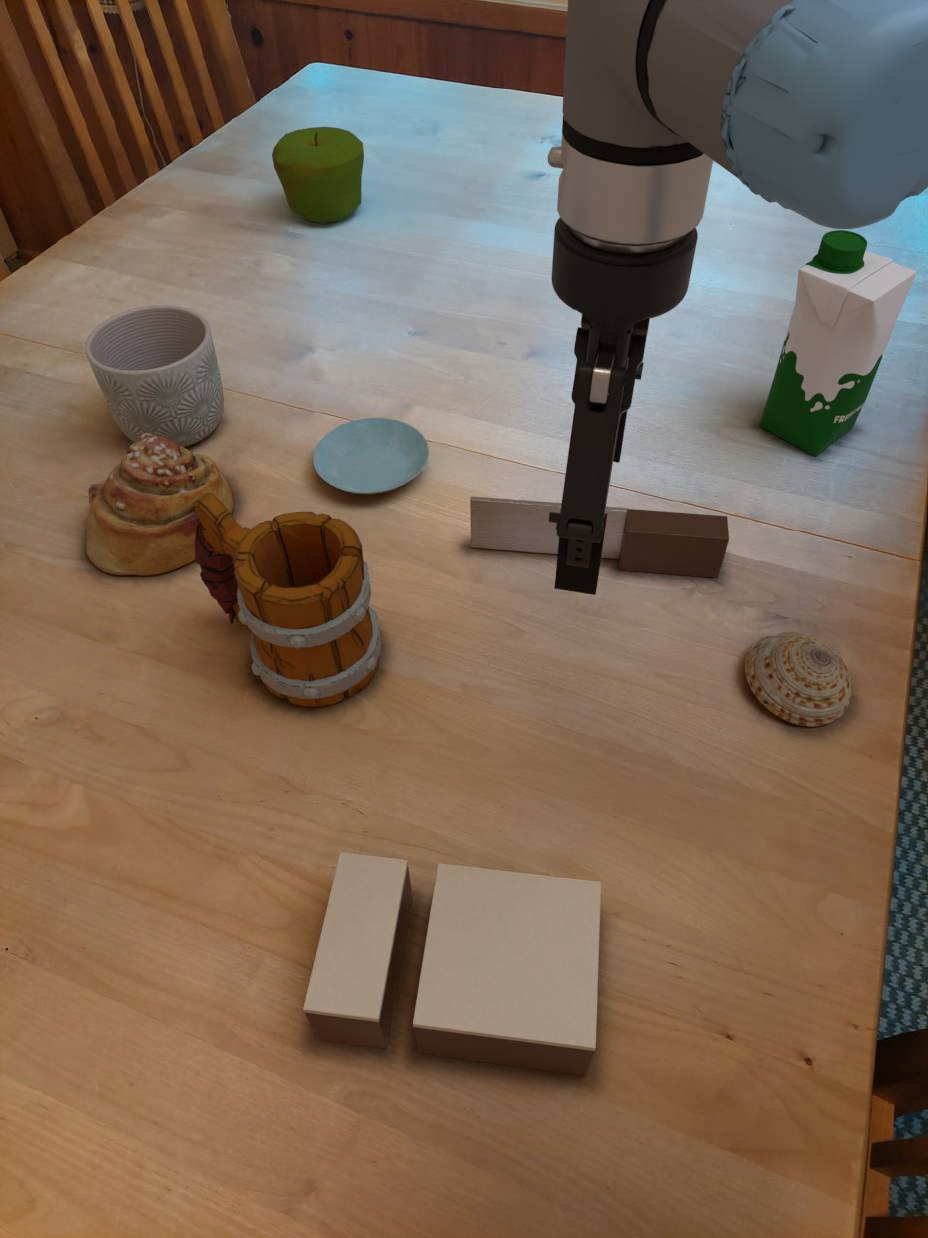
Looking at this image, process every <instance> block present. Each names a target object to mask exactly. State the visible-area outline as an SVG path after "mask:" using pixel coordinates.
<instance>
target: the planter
mask: <svg viewBox="0 0 928 1238" xmlns="http://www.w3.org/2000/svg"><path fill="white" fill-rule="evenodd" d="M84 352H85V353H84V354H85V356H86V358H87V361H88V363H89V366H90V368H91V370H92V373H93V375H94V377H95V380H96V382H97V385H98V386H99V389H100V391H101V393H102V396H103V398H104V401H105V402H106V405H107V407H108V410H109V411H110V412H111V413H110V414H111V415H112V417H113V419H114V421H115V423H116V424H117V426H118V427H119V430H121V432H122V433H123V434H124V435H125V436H126V438H129V440H130V441H132V442H133V443H135V442H137V441H139V439H140V437H141V436H142V435H143V434H144V433H148V434H152V435H154V436H164V437H166V438H167V439H169V440H170V441H173V442H175V443H176V444H177V445H179V446H182V447H184V448H186V447H189V446H192V445H195V444H196V443H199V442H200V441H202V440H204V439H205V438H207V437H208V436H209V435H211V434H212V433H213V432H214V431H215V429H216V428H217V427H218V426H219V424H220V423H221V421H222V418H223V415H224V409H225V397H224V389H223V382H222V376H221V371H220V367H219V366H220V365H219V361H218V357H217V352H216V348H215V344H214V338H213V335H212V330H211V326H210V323H209V321H208V320H207V319H206V318H205V317H204V316H203V315H201V314H200V313H199V312H197V311H195V310H192V309H190V308H186V307H182V306H178V305H170V304H169V305H168V304H167V305H166V304H161V305H160V304H159V305H158V304H157V305H155V304H154V305H147V306H141V307H135V308H132V309H129V310H125V311H122V312H120V313H118V314H117V313H116V314H115V315H113V316H111V317H109V318H107V319H105V320H104V321H102V322H101V323H100V324H98V325H97V326H96V327H95V328H94V329H93V330H92V331H91V332H90V334H89V335H88V336H87V338H86V341H85V343H84Z"/></svg>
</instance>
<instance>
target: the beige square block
mask: <svg viewBox="0 0 928 1238" xmlns="http://www.w3.org/2000/svg"><path fill="white" fill-rule="evenodd" d="M601 896H602V882H601V881H597V880H589V879H588V880H587V879H579V878H578V879H577V878H570V877H563V876H552V875H544V874H537V873H536V874H535V873H526V872H519V871H509V870H501V869H492V868H485V867H484V868H483V867H474V866H467V865H466V866H465V865H459V864H449V863H441V862H438V863H437V868H436V875H435V880H434V887H433V894H432V900H431V906H430V912H429V919H428V925H427V931H426V937H425V943H424V948H423V949H424V951H423V956H422V962H421V969H420V973H419V982H418V988H417V994H416V999H415V1006H414V1012H413V1019H412V1027H413V1031H414V1037H415V1041H416V1046H417V1052H418V1054H421V1055H429V1056H435V1057H443V1058H451V1059H455V1060H456V1059H457V1060H464V1061H472V1062H480V1063H486V1064H494V1065H501V1066H509V1067H515V1068H516V1067H517V1068H523V1069H531V1070H539V1071H546V1072H553V1073H561V1074H566V1075H567V1074H568V1075H576V1076H582V1077H587V1075H588V1072H589V1069H590V1066H591V1063H592V1060H593V1057H594V1054H595V1052H596V1049H597V1021H598V990H599V961H600V960H599V958H600V931H601V929H600V928H601V898H602V897H601Z"/></svg>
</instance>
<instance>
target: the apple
mask: <svg viewBox="0 0 928 1238" xmlns="http://www.w3.org/2000/svg"><path fill="white" fill-rule="evenodd" d="M271 157H272V158H271V159H272V163H273V169H274V171H275V174H276V176H277V177H278V178H277V179H278V180H279V182H280V184H281V187H282V190H283V192H284V196H285V199H286V201H287V204H288V207H289V209H290V210H291V211H292V213H293V214H295V215H297V216H299V217H300V218H302V219H304V220H306V221H307V222H310V223H315V224H333V223H338V222H341V221H343V220H345V219H346V218H348V217H349V216H350V215H351V214H353V212H355V211H356V210H357V208H359V207H360V205H361V204H362V182H363V181H362V178H363V177H362V176H363V171H364V170H363V169H364V162H365V152H364V143H363V141H362V140H361V139H360V138H359V137H358V136H357V135H356V134H354V133H352V132H351V131H350V130H347V129H343V128H340V127H334V126H333V127H332V126H316V127H307V128H302V129H296V130H293V131H289V132H288V133H285V134H284V135H283V136H282V137H281V138H279V139H278V141H277V143H276V144H275V146H273V149H272V153H271Z"/></svg>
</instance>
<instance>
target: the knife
mask: <svg viewBox="0 0 928 1238" xmlns="http://www.w3.org/2000/svg"><path fill="white" fill-rule="evenodd" d="M561 504H562V502H552V501H538V500H525V499H513V498H512V499H510V498H499V497H497V498H496V497H484V496H470V499H469V507H470V508H469V509H470V511H469V512H470V515H469V516H470V547H471V548H477V549H489V550H502V551H512V552H513V551H515V552H524V553H525V552H527V553H538V554H549V555H550V554H551V555H558V544H559V537H558V536H557V530H556V525H557V523H552V522H549V513H550V512H557V513H560V511H561ZM605 513H607V521H606V528H605V535H604V542H603V549H602V556H601V559H614V560H616V559H617V560H619V562H618V563H619V565H618V566H619V571H626V572H627V571H628V572H640V573H654V574H663V575H664V574H665V575H678V576H689V577H702V578H712V579H713V578H714V579H718V578H719V576H720V573H721V569H722V566H723V563H724V559H725V555H726V552H727V548H728V545H729V542H730V535H729V534H730V533H729V532H730V531H729V519H728V516H727V515H718V514H717V515H715V514H704V513H703V514H702V513H688V512H677V511H676V512H674V511H663V510H648V509H635V508H628V507H619V506H607V505H606V509H605Z"/></svg>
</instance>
